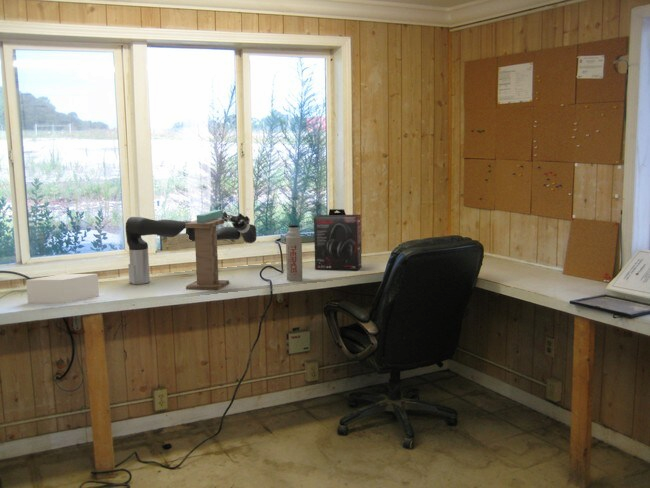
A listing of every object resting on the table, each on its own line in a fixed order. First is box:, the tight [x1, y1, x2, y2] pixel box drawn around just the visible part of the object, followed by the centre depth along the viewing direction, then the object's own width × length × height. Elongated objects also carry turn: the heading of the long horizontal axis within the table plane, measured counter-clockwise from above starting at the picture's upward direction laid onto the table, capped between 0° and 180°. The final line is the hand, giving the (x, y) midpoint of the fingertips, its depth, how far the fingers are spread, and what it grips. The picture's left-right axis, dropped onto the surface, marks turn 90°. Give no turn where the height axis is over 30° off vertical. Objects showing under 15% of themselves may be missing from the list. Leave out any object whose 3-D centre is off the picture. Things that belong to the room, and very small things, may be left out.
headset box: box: [313, 208, 362, 271], centre depth 361 cm, size 24×13×33 cm, turn 77°
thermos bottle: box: [285, 224, 303, 282], centre depth 331 cm, size 8×8×28 cm
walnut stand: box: [185, 218, 230, 291], centre depth 319 cm, size 20×16×32 cm
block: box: [25, 273, 100, 304], centre depth 296 cm, size 15×30×11 cm, turn 114°
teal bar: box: [196, 209, 224, 223], centre depth 323 cm, size 26×4×4 cm, turn 168°
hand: (231, 214), depth 343 cm, fingers open, 8 cm apart
